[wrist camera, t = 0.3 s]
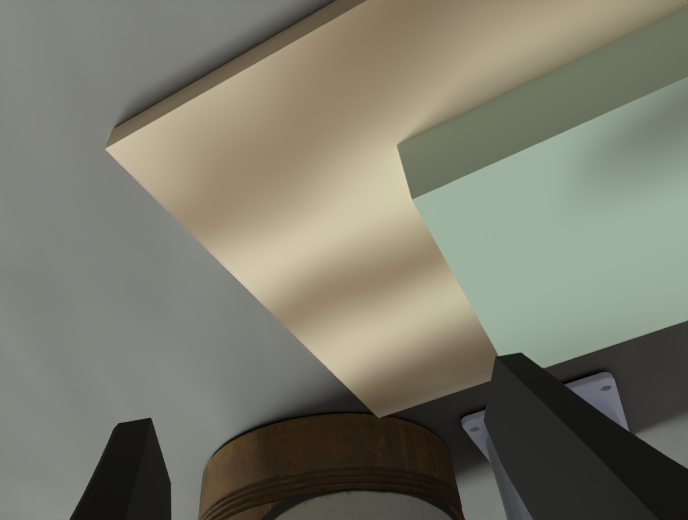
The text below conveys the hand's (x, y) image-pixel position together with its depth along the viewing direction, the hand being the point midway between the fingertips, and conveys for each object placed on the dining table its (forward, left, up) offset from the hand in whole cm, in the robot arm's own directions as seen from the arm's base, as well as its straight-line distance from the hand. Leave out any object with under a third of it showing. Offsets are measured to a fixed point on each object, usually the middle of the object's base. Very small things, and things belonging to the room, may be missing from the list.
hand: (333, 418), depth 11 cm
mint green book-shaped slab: (-5, -7, -7) cm, 11 cm away
